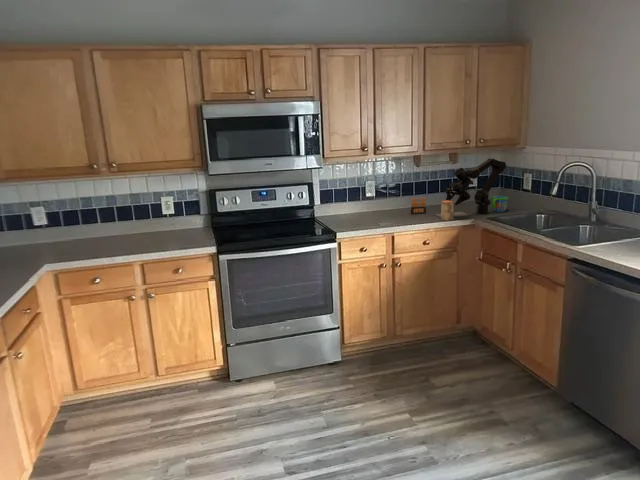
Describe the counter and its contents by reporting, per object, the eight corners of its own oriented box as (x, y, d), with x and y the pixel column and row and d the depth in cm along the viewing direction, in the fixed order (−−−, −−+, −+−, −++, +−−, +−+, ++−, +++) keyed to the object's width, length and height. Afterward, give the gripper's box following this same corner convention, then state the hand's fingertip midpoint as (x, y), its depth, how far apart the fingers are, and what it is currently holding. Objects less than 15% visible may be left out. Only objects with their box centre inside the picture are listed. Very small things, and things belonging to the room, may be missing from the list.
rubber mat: (461, 213, 353) (461, 211, 352) (469, 215, 342) (469, 214, 342) (434, 215, 349) (434, 214, 349) (441, 218, 338) (441, 217, 338)
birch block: (447, 218, 338) (447, 200, 335) (453, 219, 333) (453, 201, 331) (441, 219, 336) (441, 201, 333) (446, 220, 331) (447, 202, 328)
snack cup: (501, 208, 361) (502, 194, 359) (513, 210, 352) (514, 196, 350) (485, 211, 354) (486, 197, 351) (497, 213, 345) (498, 198, 342)
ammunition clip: (410, 214, 356) (410, 197, 353) (410, 213, 358) (410, 197, 355) (426, 213, 356) (426, 196, 353) (425, 213, 357) (425, 196, 354)
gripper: (447, 176, 340) (434, 194, 337) (467, 178, 324) (453, 197, 321) (456, 187, 345) (443, 204, 343) (476, 189, 329) (463, 208, 327)
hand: (450, 203), depth 333 cm, fingers open, 9 cm apart
